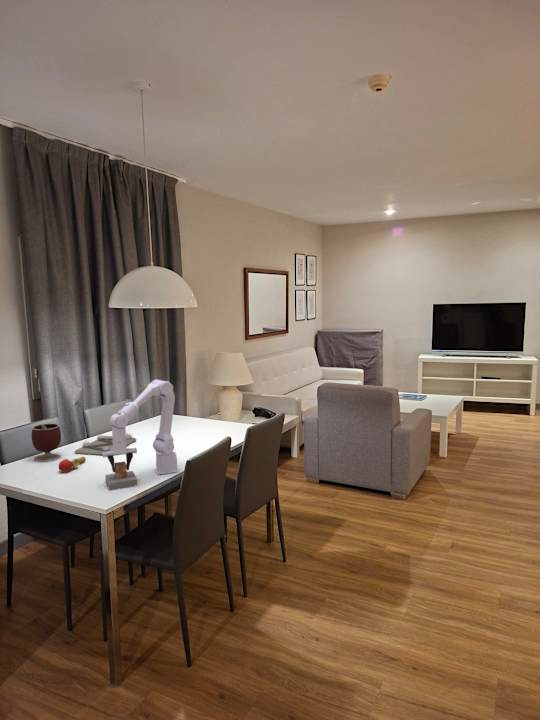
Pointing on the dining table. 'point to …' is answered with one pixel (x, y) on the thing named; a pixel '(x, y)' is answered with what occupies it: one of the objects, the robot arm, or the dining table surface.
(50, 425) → the mate gourd
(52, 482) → the dining table surface
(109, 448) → the grey piece
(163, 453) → the robot arm
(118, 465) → the walnut block
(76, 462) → the kendama
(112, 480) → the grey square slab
